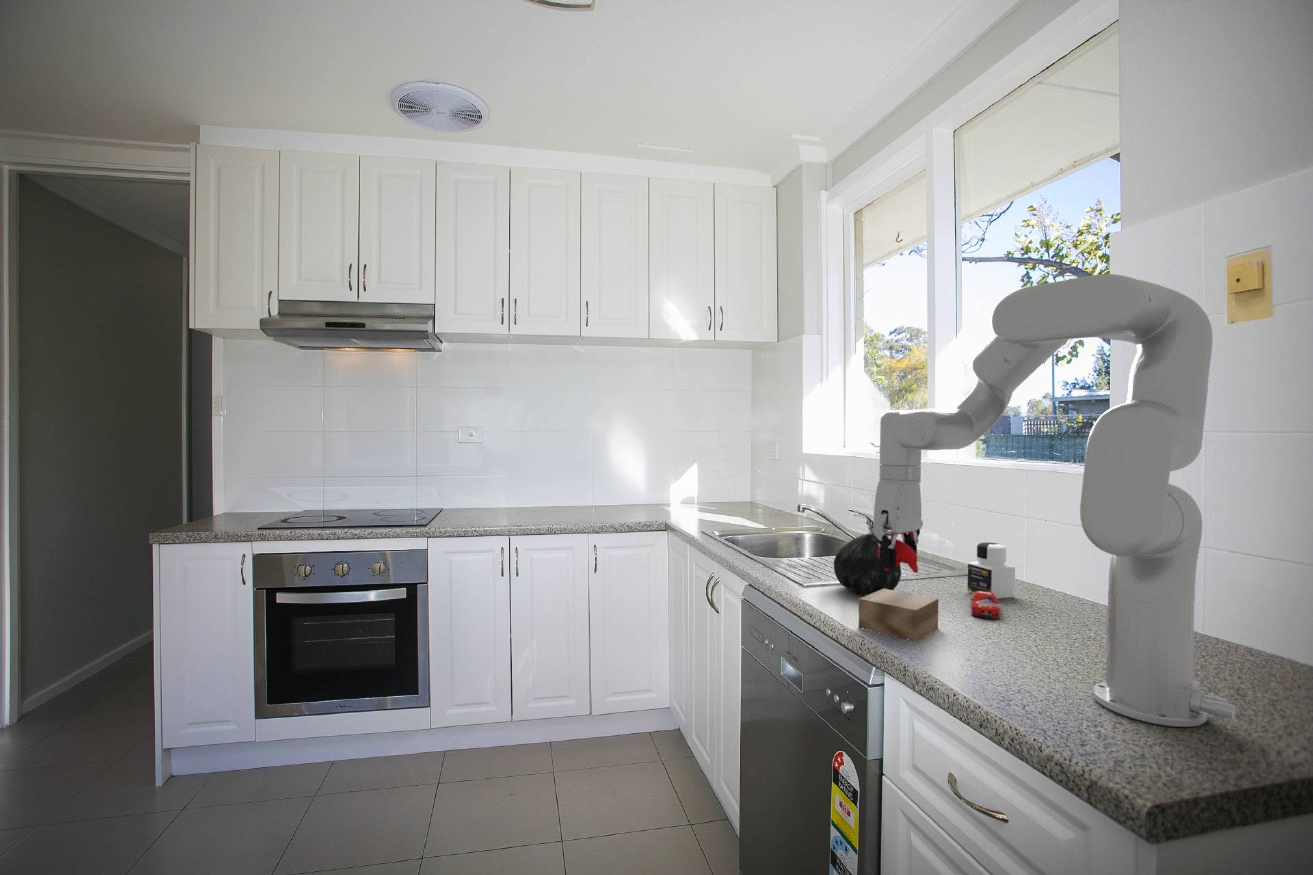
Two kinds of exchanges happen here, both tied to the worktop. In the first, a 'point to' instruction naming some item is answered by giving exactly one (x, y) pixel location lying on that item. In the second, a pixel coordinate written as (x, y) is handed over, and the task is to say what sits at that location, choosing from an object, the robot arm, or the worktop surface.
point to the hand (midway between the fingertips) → (898, 564)
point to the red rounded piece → (904, 555)
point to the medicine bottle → (991, 571)
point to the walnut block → (898, 614)
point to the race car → (985, 605)
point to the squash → (864, 567)
